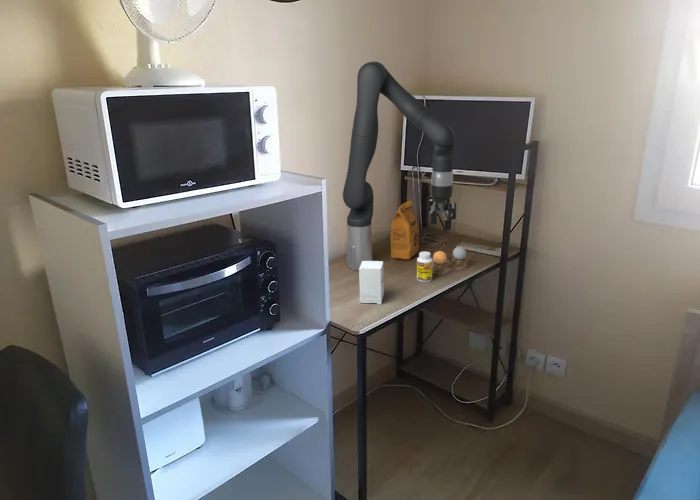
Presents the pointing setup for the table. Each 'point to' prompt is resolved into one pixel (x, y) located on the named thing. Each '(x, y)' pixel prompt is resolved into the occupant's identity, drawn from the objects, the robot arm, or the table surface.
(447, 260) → the stand single
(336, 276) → the table surface
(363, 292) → the supplement box
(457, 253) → the ball grey
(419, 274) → the supplement bottle
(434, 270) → the rack
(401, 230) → the coffee package
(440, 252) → the ball orange
